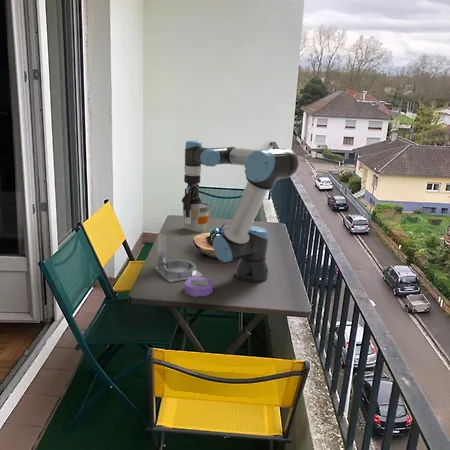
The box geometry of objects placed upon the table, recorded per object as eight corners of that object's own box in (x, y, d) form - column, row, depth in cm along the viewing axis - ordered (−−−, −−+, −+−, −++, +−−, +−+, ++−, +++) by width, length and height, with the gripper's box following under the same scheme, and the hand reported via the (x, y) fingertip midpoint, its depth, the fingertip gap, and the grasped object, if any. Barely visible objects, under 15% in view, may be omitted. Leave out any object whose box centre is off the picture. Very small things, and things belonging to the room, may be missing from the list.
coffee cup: (195, 231, 216) (197, 200, 211) (177, 228, 218) (178, 198, 214) (203, 226, 224) (204, 196, 220) (185, 223, 227) (186, 194, 223)
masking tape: (184, 296, 187) (184, 288, 185) (184, 284, 198) (185, 276, 197) (212, 297, 188) (213, 289, 186) (211, 285, 199) (212, 277, 198)
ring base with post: (202, 276, 206) (204, 241, 201) (169, 282, 198) (170, 245, 193) (186, 264, 219) (188, 230, 214) (155, 269, 211) (156, 234, 207)
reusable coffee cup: (186, 231, 267) (187, 206, 262) (188, 225, 279) (189, 201, 274) (207, 233, 267) (209, 208, 262) (209, 227, 279) (210, 203, 274)
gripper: (192, 170, 225) (190, 214, 231) (177, 177, 205) (175, 225, 211) (206, 171, 223) (204, 216, 229) (192, 178, 203) (191, 227, 210)
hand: (190, 221), depth 220 cm, fingers closed on coffee cup, 8 cm apart
